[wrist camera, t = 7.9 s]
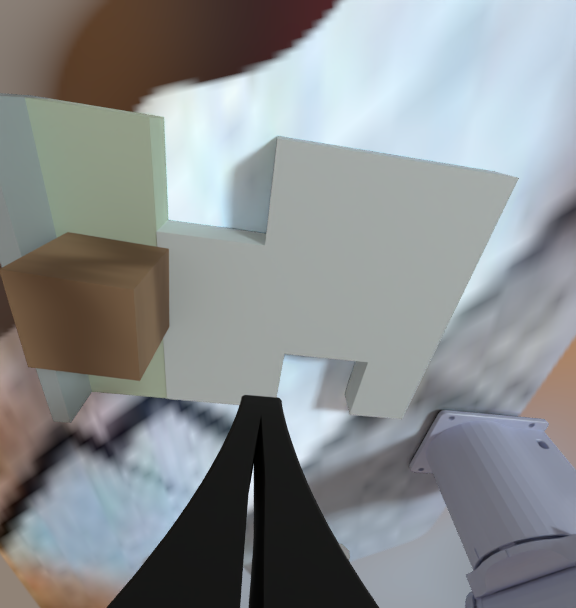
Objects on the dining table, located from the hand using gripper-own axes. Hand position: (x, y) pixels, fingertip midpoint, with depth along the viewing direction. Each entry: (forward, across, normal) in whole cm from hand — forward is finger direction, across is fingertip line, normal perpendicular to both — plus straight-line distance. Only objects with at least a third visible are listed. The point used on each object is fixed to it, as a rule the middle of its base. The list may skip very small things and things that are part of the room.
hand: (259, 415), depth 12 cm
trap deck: (+10, 0, 0) cm, 10 cm away
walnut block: (+8, +8, 0) cm, 11 cm away
